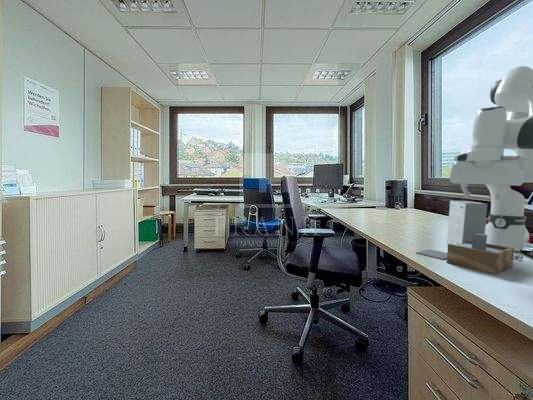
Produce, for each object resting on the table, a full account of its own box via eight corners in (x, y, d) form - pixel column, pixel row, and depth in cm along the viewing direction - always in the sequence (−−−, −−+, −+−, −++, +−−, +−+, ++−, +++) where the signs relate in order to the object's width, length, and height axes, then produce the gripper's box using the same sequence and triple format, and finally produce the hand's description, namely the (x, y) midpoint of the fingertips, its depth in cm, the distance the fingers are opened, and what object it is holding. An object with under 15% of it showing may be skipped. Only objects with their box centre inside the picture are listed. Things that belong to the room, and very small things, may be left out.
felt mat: (430, 250, 121) (430, 249, 121) (456, 256, 112) (456, 255, 112) (416, 253, 115) (416, 252, 115) (442, 259, 107) (442, 258, 107)
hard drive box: (483, 256, 113) (488, 203, 111) (461, 254, 115) (465, 203, 113) (465, 246, 128) (469, 200, 127) (445, 245, 130) (449, 199, 128)
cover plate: (466, 246, 110) (468, 229, 109) (507, 254, 99) (508, 236, 99) (451, 249, 104) (452, 232, 103) (492, 258, 93) (494, 239, 93)
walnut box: (465, 257, 111) (467, 240, 111) (512, 267, 99) (514, 248, 99) (446, 262, 104) (448, 244, 103) (494, 274, 92) (496, 253, 91)
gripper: (530, 156, 92) (525, 201, 93) (458, 158, 109) (454, 196, 110) (522, 154, 89) (517, 201, 90) (449, 156, 106) (445, 195, 107)
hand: (482, 198), depth 100 cm, fingers open, 8 cm apart
